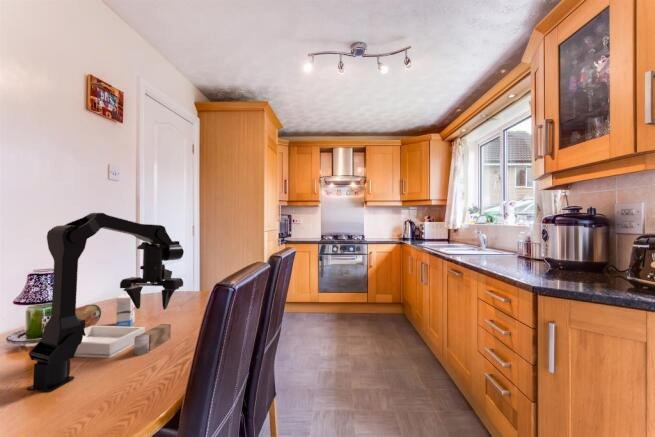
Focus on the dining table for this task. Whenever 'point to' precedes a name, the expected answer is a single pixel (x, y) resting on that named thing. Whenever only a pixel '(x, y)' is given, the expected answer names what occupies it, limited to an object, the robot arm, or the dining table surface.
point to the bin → (107, 340)
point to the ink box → (125, 311)
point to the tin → (89, 314)
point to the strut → (151, 339)
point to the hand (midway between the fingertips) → (151, 308)
